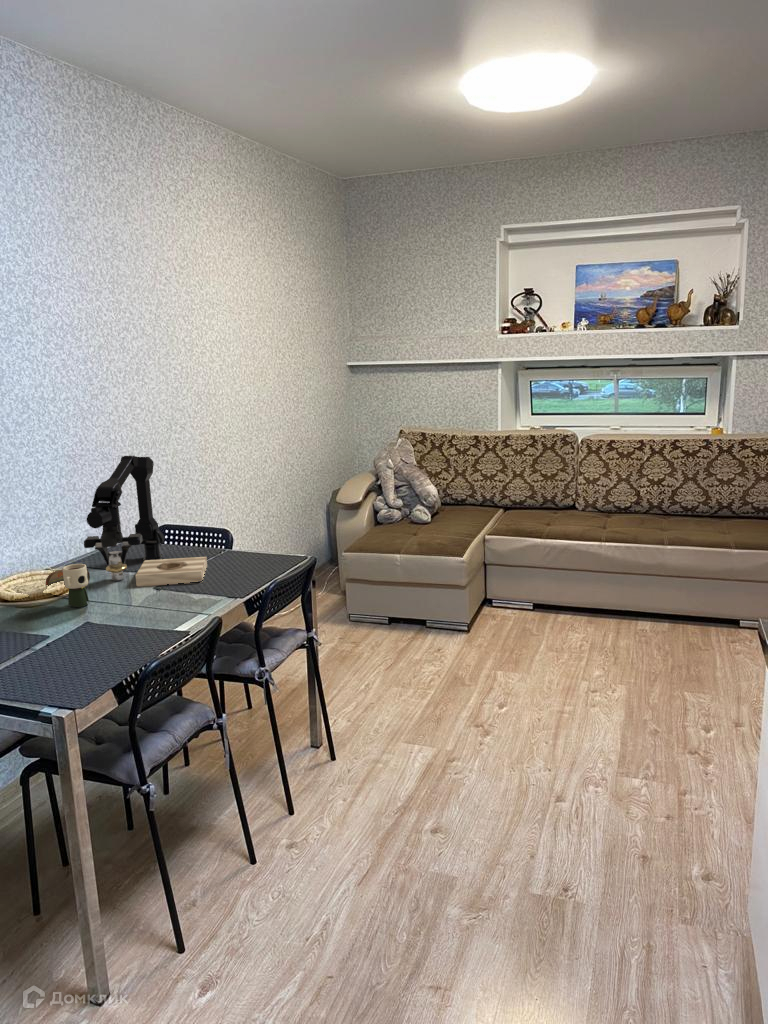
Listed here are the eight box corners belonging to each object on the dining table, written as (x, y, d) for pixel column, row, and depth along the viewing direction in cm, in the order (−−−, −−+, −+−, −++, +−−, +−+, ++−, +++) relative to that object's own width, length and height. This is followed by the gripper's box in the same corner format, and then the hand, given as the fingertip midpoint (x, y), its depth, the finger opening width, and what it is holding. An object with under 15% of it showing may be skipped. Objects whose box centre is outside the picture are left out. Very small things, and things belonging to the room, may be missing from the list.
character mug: (81, 611, 245) (76, 572, 242) (59, 611, 246) (54, 571, 243) (97, 600, 255) (93, 561, 252) (77, 599, 256) (72, 561, 253)
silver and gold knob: (109, 576, 278) (106, 550, 276) (129, 575, 279) (127, 549, 277) (105, 582, 271) (102, 556, 269) (126, 581, 272) (123, 555, 270)
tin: (50, 599, 257) (47, 575, 255) (45, 597, 259) (42, 573, 257) (91, 586, 269) (88, 563, 267) (86, 585, 271) (83, 562, 269)
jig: (145, 570, 285) (144, 560, 284) (207, 567, 287) (206, 556, 286) (136, 586, 268) (135, 575, 267) (202, 582, 270) (201, 571, 269)
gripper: (77, 528, 262) (82, 573, 265) (134, 525, 264) (139, 569, 267) (85, 520, 272) (90, 563, 276) (140, 517, 274) (145, 560, 278)
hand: (116, 564), depth 274 cm, fingers closed on silver and gold knob, 5 cm apart
